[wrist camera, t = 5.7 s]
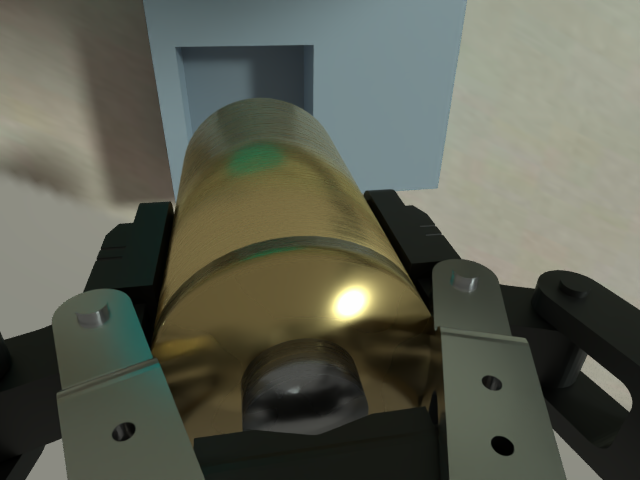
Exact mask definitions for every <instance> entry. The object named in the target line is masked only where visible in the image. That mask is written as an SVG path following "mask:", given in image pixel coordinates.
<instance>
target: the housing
mask: <svg viewBox="0 0 640 480" xmlns="http://www.w3.org/2000/svg"><path fill="white" fill-rule="evenodd" d="M466 4H467V0H143V5H144V11H145V17H146V23H147V30H148V36H149V42H150V48H151V54H152V60H153V67H154V73H155V79H156V85H157V91H158V97H159V104H160V110H161V116H162V122H163V128H164V134H165V141H166V147H167V153H168V159H169V165H170V172H171V178H172V184H173V190H174V196H175V202H176V201H177V195H178V190H179V184H180V179H181V173H182V167H183V162H184V157H185V153H186V149H187V146H188V144H189V141H190V139H191V138H192V136H193V134H194V132H195V131H196V130H197V129H198V127H199V126H200V125H201V123H203V122H204V121H205V120H206V119H207V118H208V117H209V116H210V115H212V114H213V113H214V112H216V111H217V110H219V109H221V108H222V107H224V106H226V105H229V104H231V103H234V102H237V101H240V100H245V99H251V98H272V99H278V100H282V101H286V102H289V103H292V104H294V105H296V106H298V107H300V108H302V109H303V110H305V111H307V112H308V113H310V114H311V115H312V116H313V117H314V118H315V119H317V120H318V121H319V123H320V124H321V125H322V126H323V127H324V129H325V130H326V132H327V133H328V135H329V136H330V138H331V140H332V141H333V143H334V145H335V147H336V149H337V150H338V152H339V154H340V156H341V157H342V159H343V161H344V163H345V164H346V166H347V168H348V170H349V171H350V173H351V175H352V177H353V178H354V180H355V182H356V184H357V186H358V187H359V189H360V191H361V193H364V192H365V191H366V190H383V189H393V190H394V191H405V190H420V189H434V188H438V183H439V176H440V170H441V163H442V157H443V151H444V144H445V138H446V131H447V125H448V119H449V112H450V106H451V100H452V93H453V87H454V80H455V74H456V68H457V61H458V55H459V48H460V42H461V36H462V29H463V23H464V16H465V10H466Z"/></svg>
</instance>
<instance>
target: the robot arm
mask: <svg viewBox="0 0 640 480" xmlns="http://www.w3.org/2000/svg"><path fill="white" fill-rule="evenodd" d="M363 196H364V198H365V200H366V201H367V203H368V205H369V207H370V208H371V210H372V212H373V214H374V215H375V217H376V219H377V221H378V223H379V224H380V226H381V228H382V230H383V231H384V233H385V235H386V237H387V238H388V240H389V242H390V244H391V245H392V247H393V249H394V251H395V253H396V254H397V256H398V258H399V260H400V261H401V263H402V265H403V267H404V268H405V270H406V272H407V274H408V275H409V277H410V279H411V281H412V282H413V284H414V286H415V288H416V290H417V291H418V293H419V295H420V297H421V298H422V300H423V302H424V304H425V305H426V307H427V309H428V311H429V312H430V314H431V317H432V319H433V323H432V328H431V333H430V362H429V370H428V376H427V381H426V385H425V390H424V394H422V395H418V399H417V404H416V408H409V409H402V410H395V411H388V412H380V413H373V414H370V415H367V416H365V417H362V418H360V419H357V420H355V421H352V422H350V423H347V424H345V425H342V426H340V427H337V428H335V429H332V430H330V431H327V432H325V433H322V434H318V435H306V434H295V433H284V432H273V431H262V430H250V431H242V432H235V433H228V434H221V435H213V436H206V437H199V438H194V446H193V447H192V445H191V442H190V440H189V437H188V435H187V432H186V430H185V427H184V424H183V422H182V419H181V417H180V414H179V412H178V409H177V407H176V404H175V402H174V399H173V396H172V394H171V391H170V389H169V386H168V384H167V381H166V379H165V376H164V374H163V371H162V368H161V366H160V364H159V361H158V359H157V357H154V358H153V356H152V354H151V351H150V348H151V342H152V336H153V331H154V325H155V319H156V314H157V308H158V303H159V297H160V291H161V286H162V280H163V274H164V269H165V263H166V257H167V252H168V246H169V241H170V235H171V229H172V224H173V218H174V211H173V206H172V203H171V202H153V203H140V204H139V207H138V210H137V213H136V216H135V220H134V223H125V224H118V225H117V226H116V227H115V228H114V229H113V230H111V231H110V232H109V233H108V234H107V235H106V236H105V239H104V241H103V244H102V246H101V250H100V252H99V254H98V256H97V261H96V262H95V264H94V266H93V269H92V271H91V274H90V277H89V279H88V281H87V284H86V287H85V289H84V292H83V293H81V294H78V295H76V296H74V297H72V298H70V299H68V300H67V301H66V302H64V303H63V304H62V305H61V306H59V308H58V309H57V310H56V311H55V313H54V315H53V317H52V325H50V326H47V327H45V328H42V329H39V330H36V331H33V332H30V333H26V334H23V335H20V336H16V337H13V338H9V339H6V340H4V339H3V337H2V335H1V333H0V480H25V479H26V478H27V476H28V474H29V473H30V471H31V469H32V468H33V466H34V465H35V463H36V461H37V460H38V458H39V457H40V455H41V453H42V451H43V450H44V447H45V445H46V444H49V443H51V442H54V441H56V440H59V439H61V438H62V442H63V448H64V456H65V463H66V470H67V478H68V480H567V479H566V475H565V472H564V468H563V465H562V461H561V457H560V454H559V451H558V447H557V443H556V440H555V436H554V432H553V429H554V430H555V431H556V432H557V433H558V434H559V436H560V437H562V439H564V441H565V442H566V443H567V444H568V445H569V446H570V447H571V448H572V449H573V450H574V451H575V452H576V453H577V454H578V455H579V456H580V457H581V458H582V459H583V460H584V461H585V462H586V463H587V464H588V465H589V466H590V467H591V468H592V469H593V470H594V471H595V472H596V473H597V474H598V475H599V476H600V477H601V478H602V479H603V480H640V310H639V309H637V308H636V307H634V306H633V305H631V304H630V303H628V302H627V301H625V300H623V299H622V298H620V297H619V296H617V295H616V294H614V293H613V292H611V291H610V290H608V289H607V288H605V287H604V286H602V285H601V284H599V283H597V282H596V281H594V280H592V279H590V278H588V277H586V276H584V275H581V274H578V273H574V272H570V271H563V270H554V271H548V272H545V273H543V274H542V275H540V277H539V279H538V281H537V284H536V287H535V289H532V288H524V287H515V286H507V285H501V284H499V281H498V278H497V277H496V275H495V274H494V273H493V272H492V271H491V270H490V269H488V268H487V267H485V266H483V265H481V264H479V263H476V262H474V261H470V260H464V259H461V258H460V256H459V255H458V254H457V253H456V251H455V250H454V249H453V247H452V246H451V245H450V243H449V242H448V241H447V239H446V238H445V237H444V236H443V235H442V234H441V232H440V230H439V229H438V228H437V226H436V227H435V224H434V223H433V221H432V220H431V219H430V217H429V216H428V215H427V214H426V213H424V212H423V211H421V210H420V209H418V208H416V207H415V206H413V205H410V206H405V205H404V203H403V202H402V200H401V199H400V198H399V196H398V195H397V193H396V192H395V191H394V190H393V189H383V190H366V191H365V192H364V195H363ZM587 354H588V355H589V356H591V357H592V358H593V359H594V360H595V361H597V362H598V363H599V364H600V365H602V366H603V367H604V368H605V369H607V370H608V371H609V372H610V373H612V374H613V375H614V376H615V377H617V378H618V379H619V380H620V381H621V382H622V383H623V384H624V385H625V386H626V387H627V389H628V390H629V392H630V394H631V397H632V403H633V404H632V409H631V411H630V412H628V411H627V410H626V409H625V408H624V407H623V406H621V405H620V404H619V403H618V402H617V401H616V400H614V399H613V398H612V397H611V396H610V395H608V394H607V393H606V392H605V391H604V390H603V389H601V388H600V387H599V386H598V385H597V384H596V383H594V382H593V381H592V380H591V379H590V378H589V377H587V376H586V375H585V374H584V373H583V372H581V371H580V370H581V368H582V366H583V363H584V361H585V359H586V357H587ZM552 428H553V429H552Z"/></svg>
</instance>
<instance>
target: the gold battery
mask: <svg viewBox="0 0 640 480" xmlns="http://www.w3.org/2000/svg"><path fill="white" fill-rule="evenodd" d="M432 323H433V319H432V317H431V314H430V312H429V311H428V309H427V307H426V305H425V304H424V302H423V300H422V298H421V297H420V295H419V293H418V291H417V290H416V288H415V286H414V284H413V282H412V281H411V279H410V277H409V275H408V274H407V272H406V270H405V268H404V267H403V265H402V263H401V261H400V260H399V258H398V256H397V254H396V253H395V251H394V249H393V247H392V245H391V244H390V242H389V240H388V238H387V237H386V235H385V233H384V231H383V230H382V228H381V226H380V224H379V223H378V221H377V219H376V217H375V215H374V214H373V212H372V210H371V208H370V207H369V205H368V203H367V201H366V200H365V198H364V196H363V194H362V193H361V191H360V189H359V187H358V186H357V184H356V182H355V180H354V178H353V177H352V175H351V173H350V171H349V170H348V168H347V166H346V164H345V163H344V161H343V159H342V157H341V156H340V154H339V152H338V150H337V149H336V147H335V145H334V143H333V141H332V140H331V138H330V136H329V135H328V133H327V132H326V130H325V129H324V127H323V126H322V125H321V124H320V123H319V121H318V120H317V119H315V118H314V117H313V116H312V115H311V114H310V113H308V112H307V111H305V110H303V109H302V108H300V107H298V106H296V105H294V104H292V103H289V102H286V101H282V100H278V99H272V98H251V99H245V100H240V101H237V102H234V103H231V104H229V105H226V106H224V107H222V108H221V109H219V110H217V111H216V112H214V113H213V114H212V115H210V116H209V117H208V118H207V119H206V120H205V121H204V122H203V123H201V125H200V126H199V127H198V129H197V130H196V131H195V132H194V134H193V136H192V138H191V139H190V141H189V144H188V146H187V149H186V153H185V157H184V162H183V167H182V173H181V179H180V184H179V190H178V195H177V201H176V207H175V212H174V218H173V224H172V229H171V235H170V241H169V246H168V252H167V257H166V263H165V269H164V274H163V280H162V286H161V291H160V297H159V303H158V308H157V314H156V319H155V325H154V331H153V336H152V342H151V348H150V351H151V354H152V356H153V358H154V357H157V359H158V361H159V364H160V366H161V368H162V371H163V374H164V376H165V379H166V381H167V384H168V386H169V389H170V391H171V394H172V396H173V399H174V402H175V404H176V407H177V409H178V412H179V414H180V417H181V419H182V422H183V424H184V427H185V430H186V432H187V435H188V437H189V440H190V442H191V445H192V447H193V446H194V438H199V437H206V436H213V435H221V434H228V433H235V432H242V431H250V430H262V431H273V432H284V433H295V434H306V435H318V434H322V433H325V432H327V431H330V430H332V429H335V428H337V427H340V426H342V425H345V424H347V423H350V422H352V421H355V420H357V419H360V418H362V417H365V416H367V415H370V414H373V413H380V412H388V411H395V410H402V409H409V408H416V404H417V399H418V395H422V394H424V390H425V385H426V381H427V376H428V370H429V362H430V333H431V328H432Z"/></svg>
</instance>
